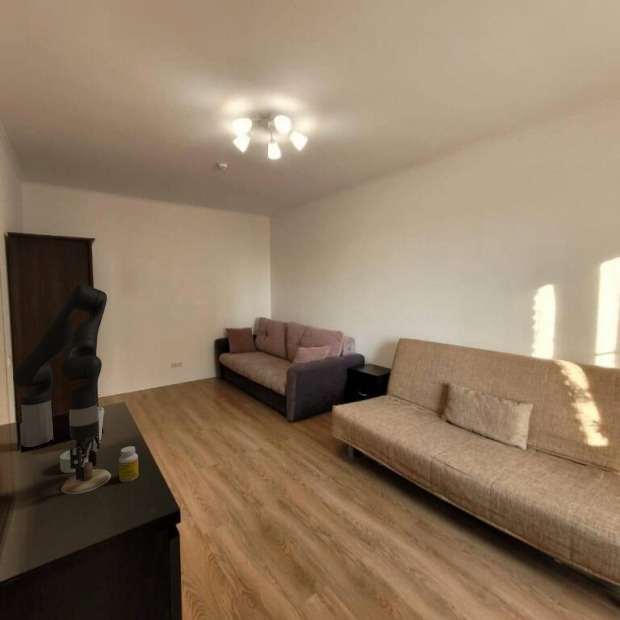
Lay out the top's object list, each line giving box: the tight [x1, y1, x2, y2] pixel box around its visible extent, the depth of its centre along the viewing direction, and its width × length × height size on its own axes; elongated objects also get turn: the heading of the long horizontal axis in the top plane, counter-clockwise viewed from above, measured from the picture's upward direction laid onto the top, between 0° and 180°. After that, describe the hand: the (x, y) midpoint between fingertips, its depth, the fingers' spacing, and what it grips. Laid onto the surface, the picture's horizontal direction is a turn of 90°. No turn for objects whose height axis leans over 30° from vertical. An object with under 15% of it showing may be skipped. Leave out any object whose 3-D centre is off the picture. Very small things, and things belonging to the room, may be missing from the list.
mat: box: [60, 471, 112, 495], centre depth 105 cm, size 13×13×1 cm
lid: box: [63, 462, 110, 492], centre depth 105 cm, size 12×12×6 cm
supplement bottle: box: [118, 445, 140, 483], centre depth 107 cm, size 5×5×10 cm
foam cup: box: [97, 406, 105, 441], centre depth 136 cm, size 10×9×13 cm
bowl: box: [59, 449, 88, 474], centre depth 116 cm, size 10×10×5 cm
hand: (86, 472), depth 105 cm, fingers open, 8 cm apart
